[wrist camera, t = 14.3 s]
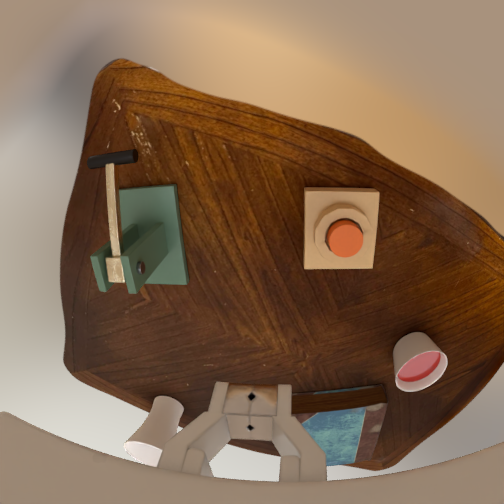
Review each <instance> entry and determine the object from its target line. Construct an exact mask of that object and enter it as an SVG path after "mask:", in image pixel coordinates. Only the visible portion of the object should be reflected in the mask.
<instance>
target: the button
mask: <svg viewBox="0 0 504 504" xmlns="http://www.w3.org/2000/svg"><path fill="white" fill-rule="evenodd" d="M327 240H328V243H329V246H330V249H331V251H332V252H333V253H334V254H335V255H337V256H339V257H344V258H346V257H351V256H353V255H355V254H356V253H358V252H359V250H360V249H361V247H362V245H363V235H362V233H361V231H360V229H359V228H358V226H357V225H356V224H355V223H354V222H352V221H349V220H340V221H337V222H336V223H334V224H333V225H332V226H331V227H330V229H329V230H328V234H327Z"/></svg>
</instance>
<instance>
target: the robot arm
mask: <svg viewBox="0 0 504 504" xmlns="http://www.w3.org/2000/svg"><path fill="white" fill-rule="evenodd" d="M230 438H232V439H253V440H268V441H272V442H273V444H274V445H275V447H276V448H277V450H278V452H279V453H280V455H281V456H282V458H281V462H280V474H279V482H269V481H250V480H236V479H225V478H217V477H214V476H213V473H212V470H211V468H210V466H209V462H210V461H211V460H212V459H213V458H214V457H215V456H216V454H217V453H218V452H219V451H220V450H221V449H222V448H223V447H224V446H225V445H226V444H227V443H228V442H229V441H230V440H231V439H230ZM0 504H504V442H502V443H499V444H497V445H494V446H491V447H489V448H486V449H483V450H480V451H478V452H475V453H472V454H469V455H466V456H462V457H459V458H456V459H452V460H449V461H445V462H442V463H438V464H434V465H430V466H426V467H422V468H417V469H412V470H407V471H402V472H397V473H392V474H385V475H379V476H372V477H364V478H356V479H346V480H332V481H327V470H326V454H325V452H324V451H323V450H322V449H321V448H320V447H319V445H318V444H317V443H316V442H315V441H314V439H313V438H312V437H311V436H310V435H309V433H308V432H307V431H306V430H305V428H304V427H303V426H302V425H301V424H300V422H299V421H298V420H297V419H296V417H295V416H291V385H276V384H240V383H226V382H216V384H215V387H214V391H213V395H212V398H211V402H210V406H209V410H208V412H203V413H202V414H201V415H200V416H199V417H197V418H196V419H195V420H194V421H192V422H191V423H190V424H189V425H187V426H186V427H185V428H183V429H182V430H181V431H180V432H178V433H177V434H176V435H174V436H173V437H172V438H171V439H169V440H168V441H167V442H165V444H164V447H163V450H162V453H161V456H160V459H159V461H158V464H157V467H153V466H149V465H145V464H141V463H137V462H133V461H129V460H126V459H122V458H119V457H115V456H112V455H109V454H105V453H102V452H99V451H96V450H93V449H90V448H87V447H85V446H82V445H79V444H76V443H74V442H71V441H68V440H66V439H64V438H61V437H58V436H56V435H54V434H52V433H49V432H47V431H45V430H43V429H40V428H38V427H36V426H34V425H32V424H29V423H27V422H26V421H24V420H21V419H19V418H17V417H16V416H14V415H12V414H10V413H8V412H0Z"/></svg>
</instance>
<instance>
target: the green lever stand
mask: <svg viewBox="0 0 504 504" xmlns="http://www.w3.org/2000/svg"><path fill="white" fill-rule="evenodd" d="M119 196H120V212H121V225H122V236H123V246H124V253H123V254H122V255H121V256H120V259H121V263H122V267H123V272H124V276H125V280H126V284H127V288H128V292H129V293H137V292H138V291H139V290H140V288H141V287H142V286H143V285H144V283H148V284H181V285H187V284H188V282H189V276H188V270H187V263H186V256H185V249H184V242H183V235H182V227H181V219H180V211H179V203H178V194H177V185H176V184H169V185H156V186H145V187H134V188H124V189H119ZM111 255H112V249H111V240H110V241H109V242H107V243H106V244H105V245H104V246H102V247H101V248H100V249H99V250H97V251H96V252H95V253H94V254H92V255H91V256H90V258H91V261H92V265H93V269H94V273H95V276H96V280H97V283H98V287H99V290H100V291H104V292H106V291H107V290H108V289H109V288H110V287H111V286H112V285H113V284H114V283H115V282H109V281H108V274H107V267H106V259H105V258H106V257H108V256H111Z"/></svg>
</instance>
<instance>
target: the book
mask: <svg viewBox="0 0 504 504" xmlns="http://www.w3.org/2000/svg"><path fill="white" fill-rule="evenodd" d="M387 405H388V397H387V394H386V391H385V388H384V386H383V385H382V384H379V385H373V386H365V387H357V388H349V389H340V390H331V391H320V392H308V393H294V394H291V416H295V417H296V419H297V420H298V421H299V422H300V424H301V425H302V426H303V427H304V428H305V430H306V431H307V432H308V433H309V435H310V436H311V437H312V438H313V439H314V441H315V442H316V443H317V444H318V445H319V447H320V448H321V449H322V450H323V451H324V452H325V454H326V466H334V465H342V464H349V463H355V462H360V461H364V460H368V461H370V460H371V458H372V455H373V452H374V449H375V446H376V443H377V440H378V436H379V433H380V430H381V427H382V423H383V420H384V416H385V413H386V409H387Z"/></svg>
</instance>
